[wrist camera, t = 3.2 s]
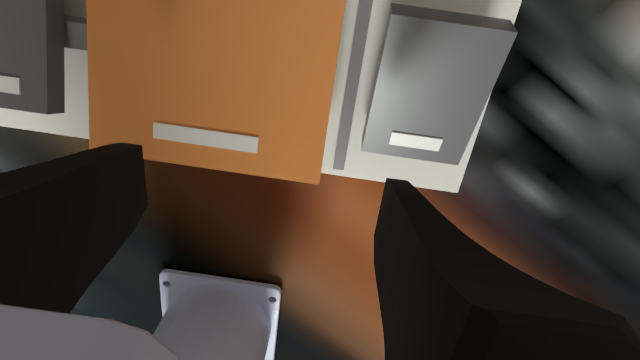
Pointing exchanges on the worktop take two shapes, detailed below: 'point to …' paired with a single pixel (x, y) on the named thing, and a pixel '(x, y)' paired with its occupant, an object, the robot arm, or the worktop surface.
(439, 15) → the grey flat block
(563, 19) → the worktop surface
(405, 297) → the robot arm
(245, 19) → the orange slotted panel
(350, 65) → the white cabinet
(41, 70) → the charcoal rocker off
